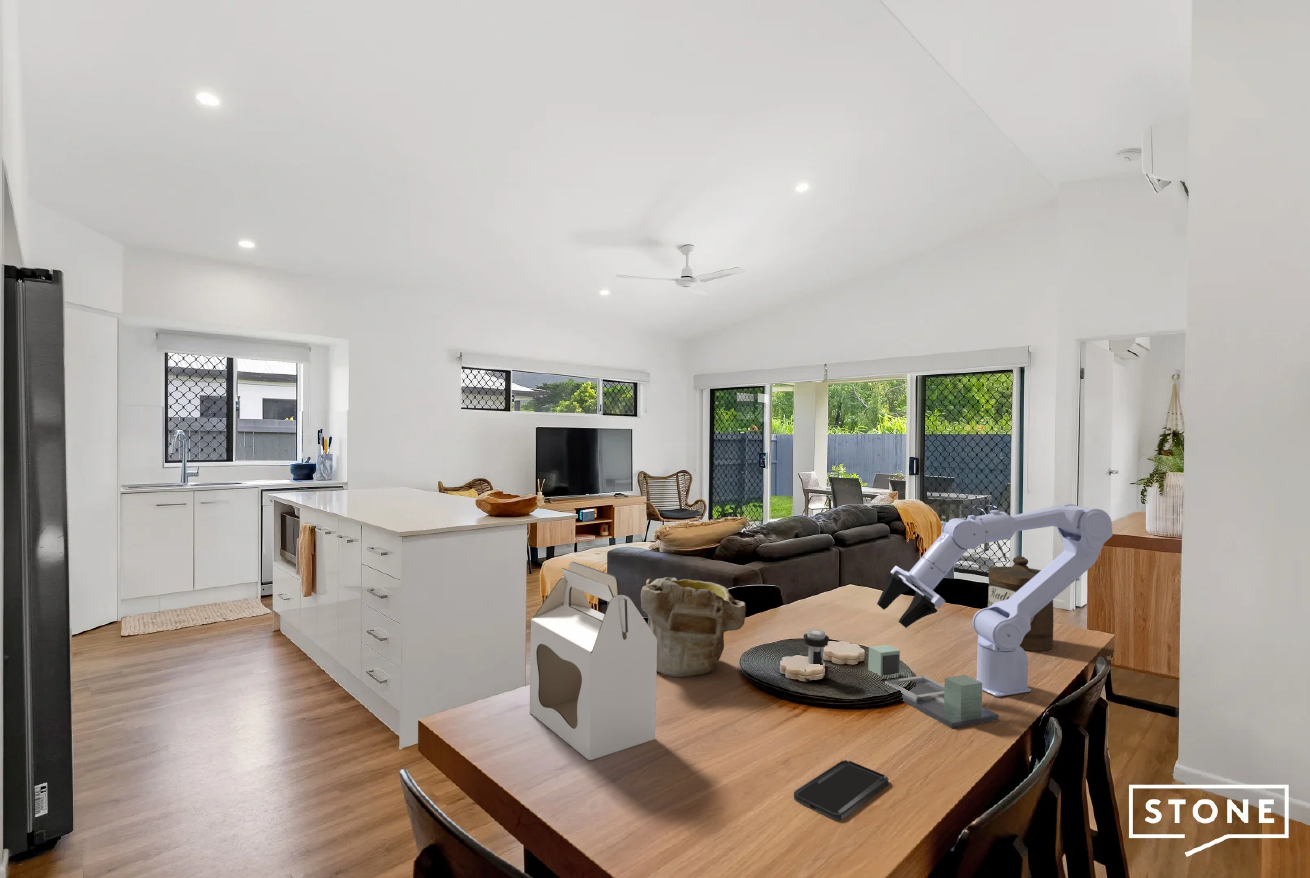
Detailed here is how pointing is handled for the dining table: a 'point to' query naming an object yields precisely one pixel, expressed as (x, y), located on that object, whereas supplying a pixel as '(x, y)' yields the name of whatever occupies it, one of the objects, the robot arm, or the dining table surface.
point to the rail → (942, 713)
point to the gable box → (593, 666)
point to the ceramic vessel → (689, 623)
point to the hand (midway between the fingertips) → (890, 615)
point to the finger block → (884, 660)
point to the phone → (841, 789)
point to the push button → (816, 647)
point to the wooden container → (1009, 583)
